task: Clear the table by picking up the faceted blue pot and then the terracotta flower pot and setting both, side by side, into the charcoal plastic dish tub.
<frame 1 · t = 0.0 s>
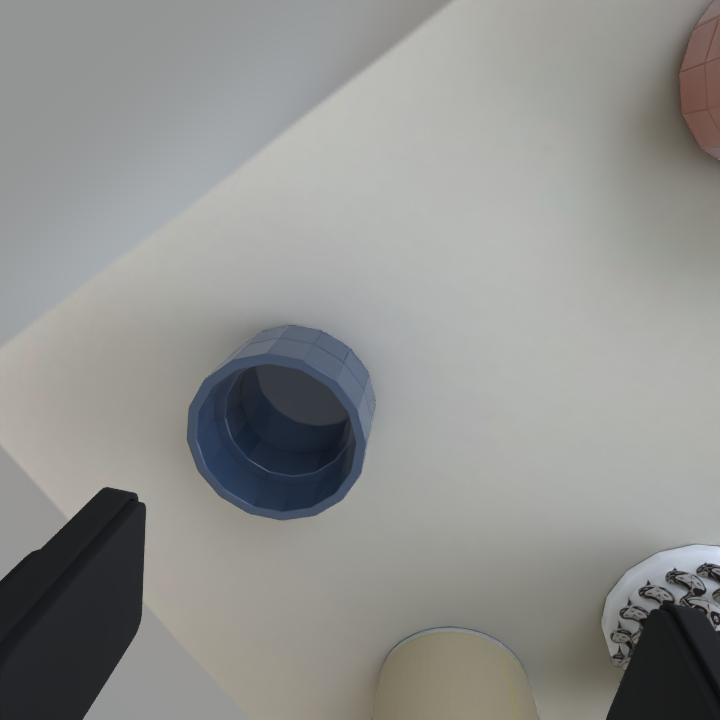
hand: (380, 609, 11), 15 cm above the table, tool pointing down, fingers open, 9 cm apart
decorative candle: (692, 617, 27), on the table
coffee cup: (453, 682, 30), on the table
faceted blue pot: (300, 396, 26), on the table
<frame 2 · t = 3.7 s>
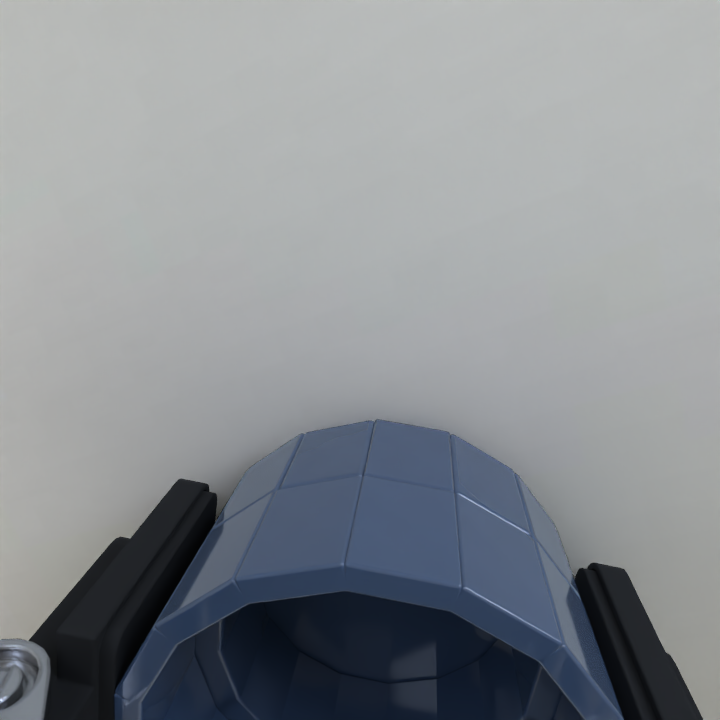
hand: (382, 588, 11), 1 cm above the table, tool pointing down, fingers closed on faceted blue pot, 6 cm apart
faceted blue pot: (385, 562, 12), on the table, touching gripper
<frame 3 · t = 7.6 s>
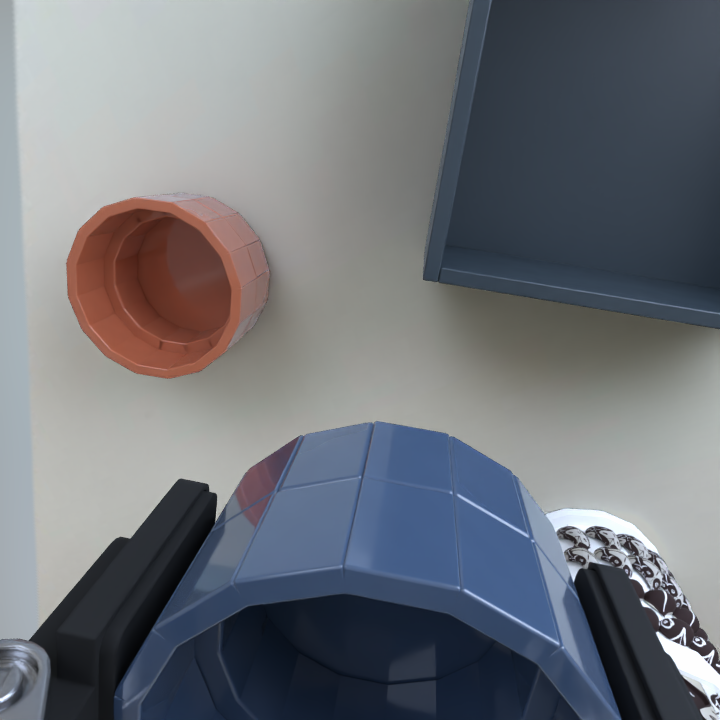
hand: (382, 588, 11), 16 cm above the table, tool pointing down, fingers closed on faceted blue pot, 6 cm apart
decorative candle: (572, 579, 29), on the table
terracotta flower pot: (198, 272, 26), on the table
tub: (641, 96, 22), on the table
faceted blue pot: (384, 564, 12), point 15 cm above the table, touching gripper
when the fingers open (5 cm above the table, at t = 11.9 s): faceted blue pot drops 2 cm and tips over, resting on tub.
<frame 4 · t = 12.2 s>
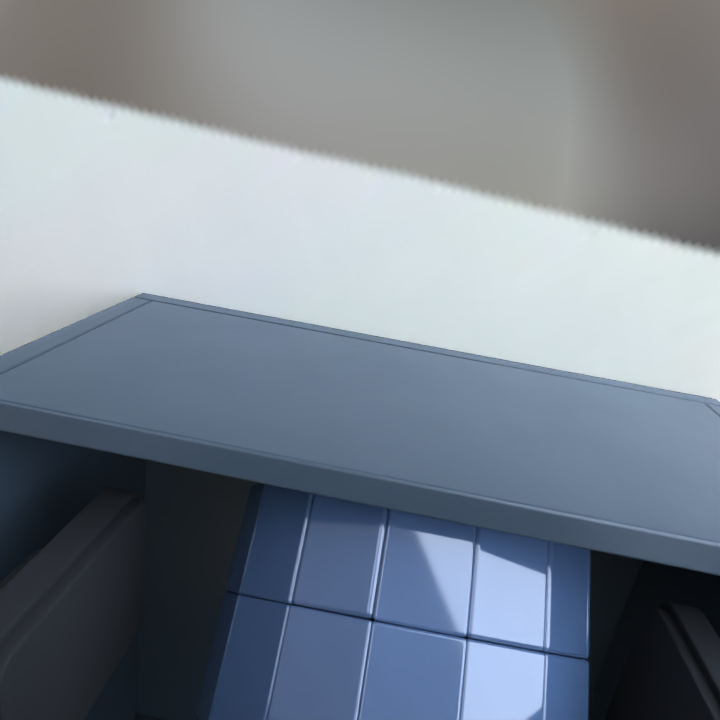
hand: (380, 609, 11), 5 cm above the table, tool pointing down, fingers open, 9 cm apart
tub: (373, 578, 16), on the table
faceted blue pot: (418, 495, 12), point 3 cm above the table, tilted 47°, touching tub
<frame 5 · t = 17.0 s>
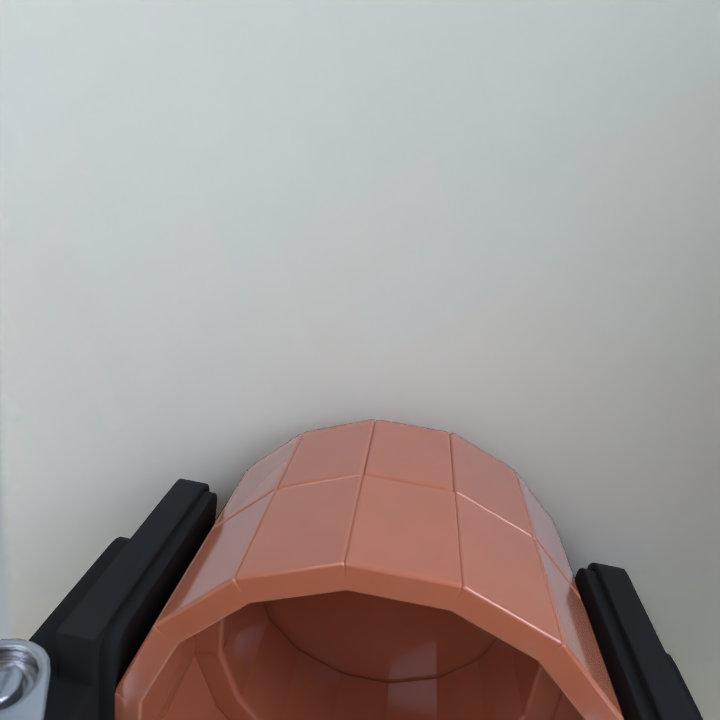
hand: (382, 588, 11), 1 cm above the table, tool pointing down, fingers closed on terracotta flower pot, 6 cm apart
terracotta flower pot: (385, 562, 12), on the table, touching gripper
when the fingers open (5 cm above the table, at t = 23.6 s): terracotta flower pot stays where it is, resting on faceted blue pot, tub.
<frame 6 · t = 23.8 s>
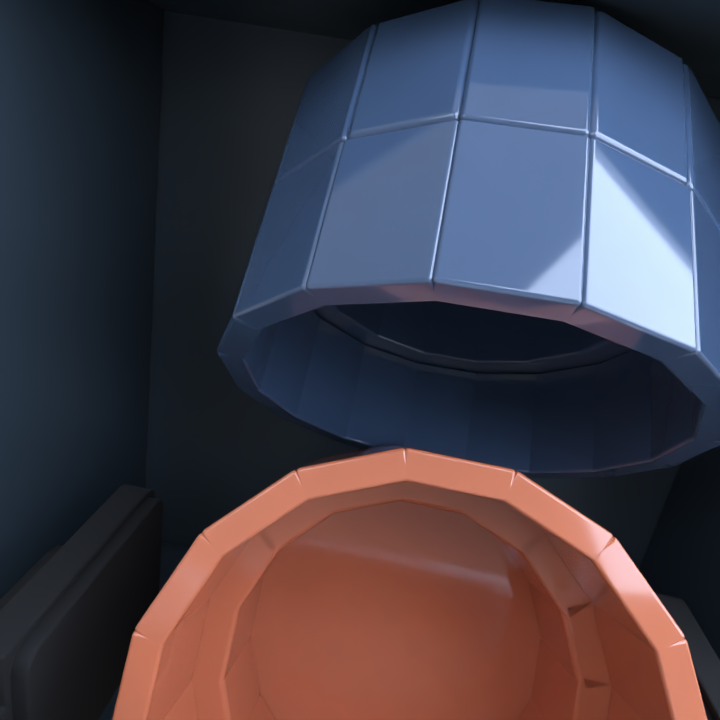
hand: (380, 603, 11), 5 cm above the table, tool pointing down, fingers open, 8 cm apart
terracotta flower pot: (394, 626, 11), point 5 cm above the table, tilted 26°, touching faceted blue pot, tub
tub: (418, 358, 14), on the table
faceted blue pot: (487, 169, 10), point 3 cm above the table, tilted 48°, touching terracotta flower pot, tub
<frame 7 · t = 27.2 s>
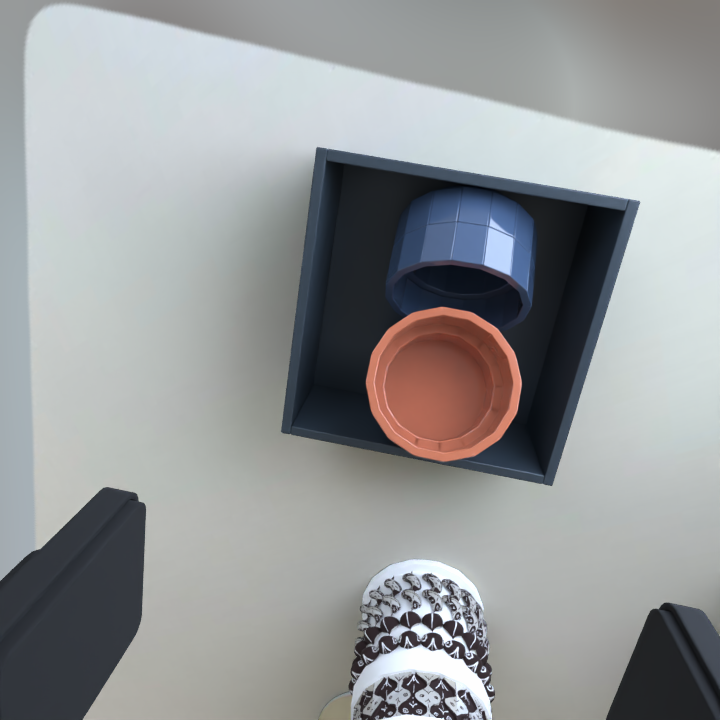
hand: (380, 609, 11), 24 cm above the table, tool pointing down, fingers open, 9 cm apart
decorative candle: (422, 608, 40), on the table
terracotta flower pot: (433, 390, 30), point 5 cm above the table, tilted 26°, touching faceted blue pot, tub
tub: (440, 298, 33), on the table
faceted blue pot: (467, 225, 29), point 3 cm above the table, tilted 48°, touching terracotta flower pot, tub
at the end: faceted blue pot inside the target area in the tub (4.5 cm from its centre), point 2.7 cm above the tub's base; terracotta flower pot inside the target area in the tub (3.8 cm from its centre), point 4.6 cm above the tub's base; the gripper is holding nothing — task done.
